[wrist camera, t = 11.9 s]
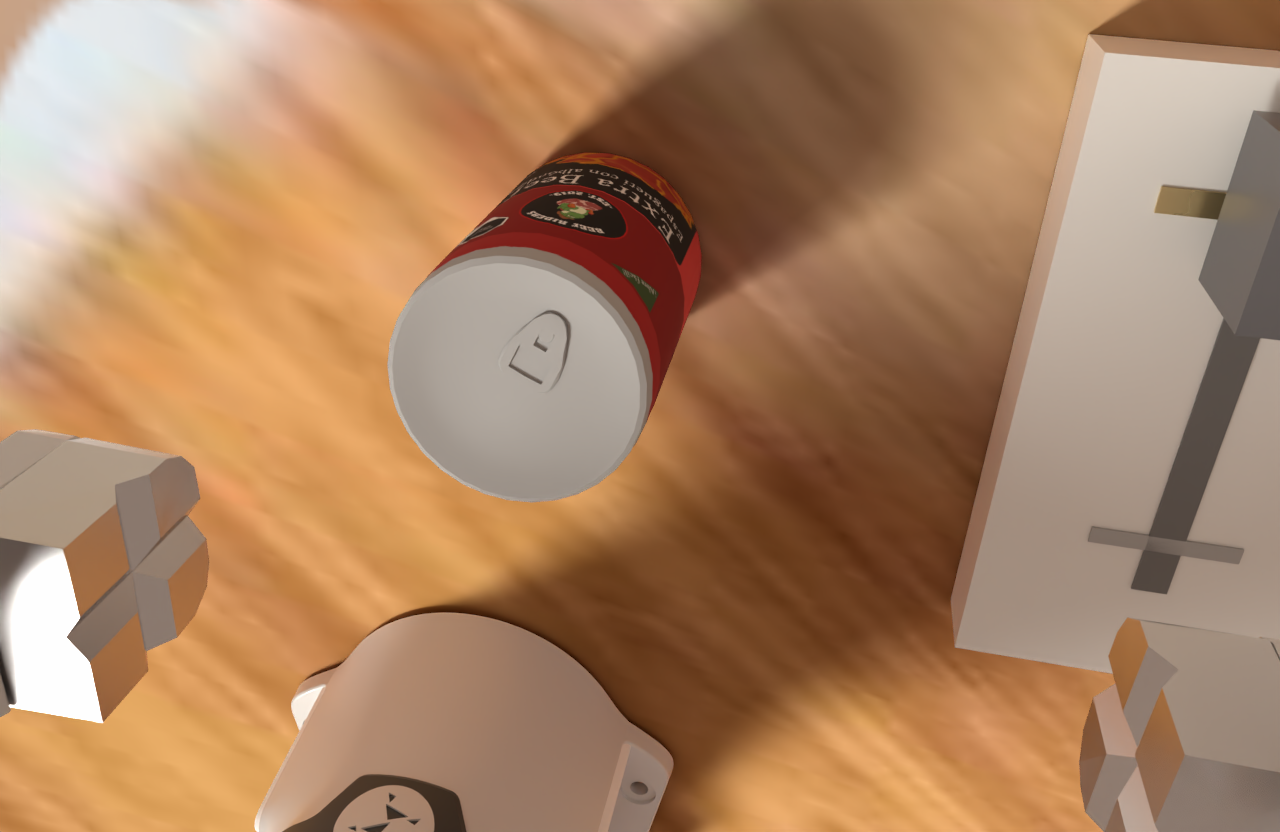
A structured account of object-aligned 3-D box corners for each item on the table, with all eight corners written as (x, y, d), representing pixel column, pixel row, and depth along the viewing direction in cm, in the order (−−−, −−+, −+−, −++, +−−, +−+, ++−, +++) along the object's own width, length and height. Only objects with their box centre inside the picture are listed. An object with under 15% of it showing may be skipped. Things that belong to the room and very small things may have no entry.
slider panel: (1264, 649, 43) (1290, 705, 40) (950, 598, 45) (954, 649, 42) (1516, 71, 32) (1573, 95, 29) (1088, 33, 34) (1105, 53, 31)
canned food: (729, 177, 38) (678, 299, 29) (676, 374, 42) (615, 537, 33) (519, 118, 38) (400, 218, 29) (486, 318, 43) (372, 464, 33)
